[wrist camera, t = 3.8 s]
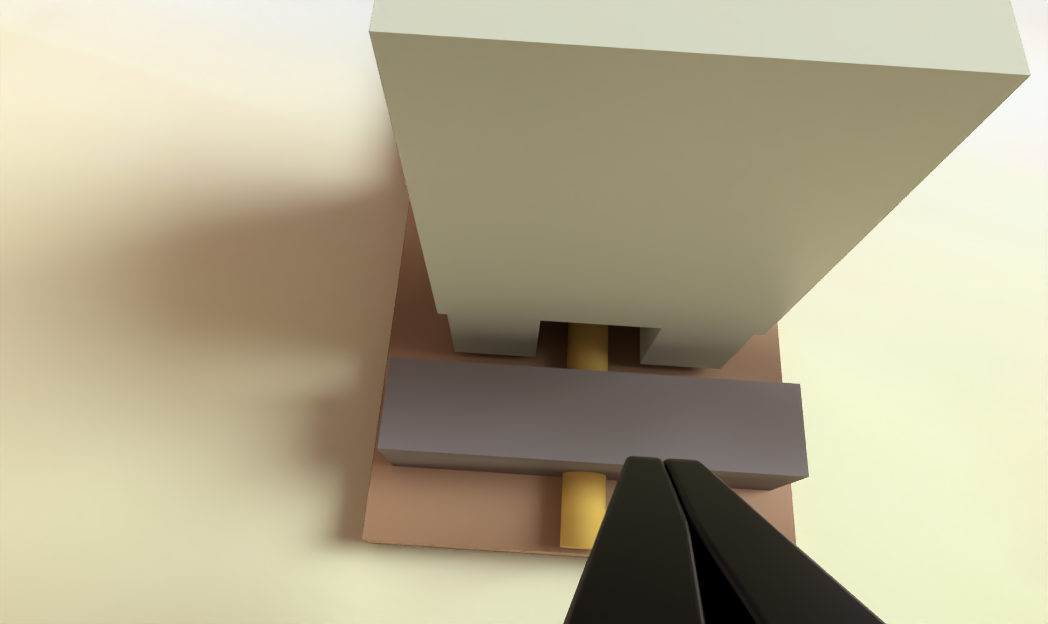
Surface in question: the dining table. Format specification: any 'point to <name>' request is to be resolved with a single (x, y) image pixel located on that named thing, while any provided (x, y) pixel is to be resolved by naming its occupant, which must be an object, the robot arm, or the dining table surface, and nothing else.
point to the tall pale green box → (669, 151)
